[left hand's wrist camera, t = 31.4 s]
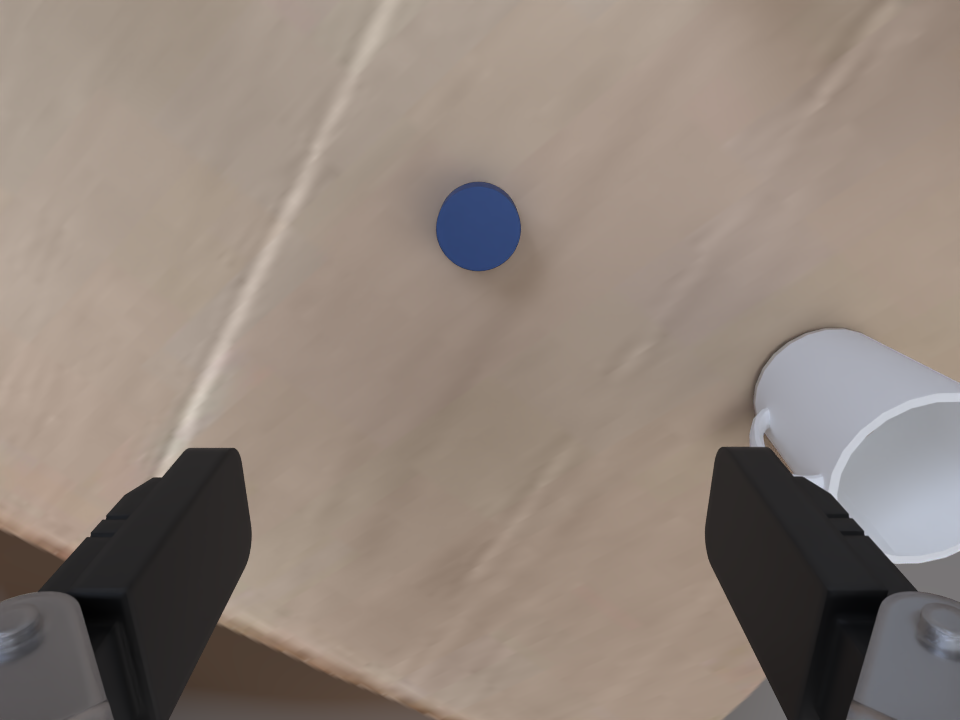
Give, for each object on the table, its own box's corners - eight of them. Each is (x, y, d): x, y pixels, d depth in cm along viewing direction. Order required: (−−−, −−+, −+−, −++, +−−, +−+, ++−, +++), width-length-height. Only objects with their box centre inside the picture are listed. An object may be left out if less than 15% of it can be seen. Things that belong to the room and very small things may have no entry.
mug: (902, 307, 38) (1045, 378, 28) (891, 445, 41) (1017, 551, 32) (706, 336, 39) (782, 414, 29) (711, 469, 42) (780, 580, 32)
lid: (534, 230, 37) (537, 237, 35) (471, 277, 37) (470, 287, 36) (486, 164, 35) (487, 168, 33) (422, 215, 36) (419, 221, 34)
